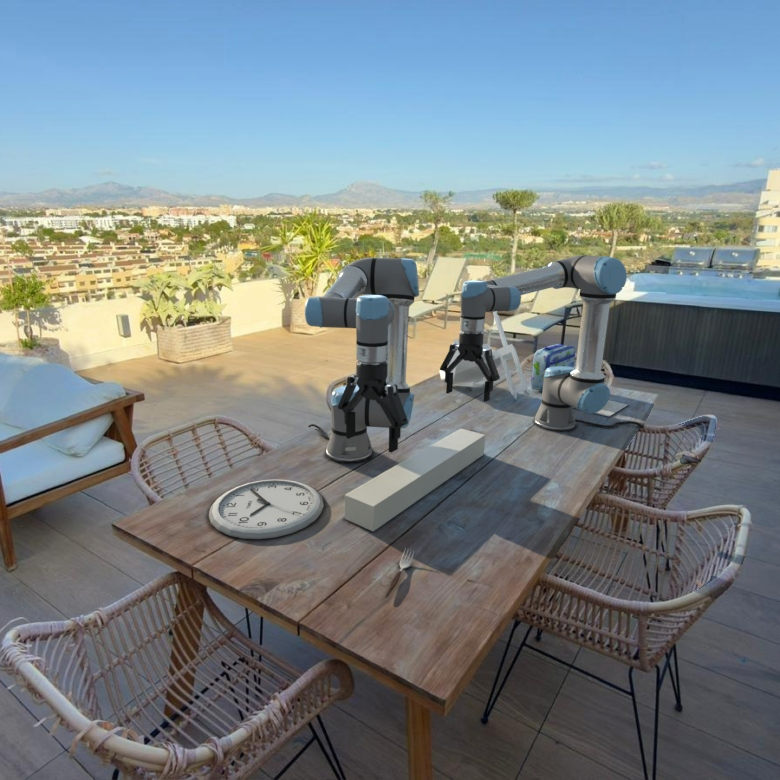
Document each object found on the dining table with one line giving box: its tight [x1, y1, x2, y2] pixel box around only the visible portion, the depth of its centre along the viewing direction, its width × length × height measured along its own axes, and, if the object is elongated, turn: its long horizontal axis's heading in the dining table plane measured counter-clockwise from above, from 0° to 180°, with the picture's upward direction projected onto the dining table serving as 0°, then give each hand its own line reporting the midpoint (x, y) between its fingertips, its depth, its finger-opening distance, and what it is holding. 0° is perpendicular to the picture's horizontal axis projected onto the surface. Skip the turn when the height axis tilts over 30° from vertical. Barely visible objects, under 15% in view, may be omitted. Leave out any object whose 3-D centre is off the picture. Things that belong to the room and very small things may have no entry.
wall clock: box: [208, 478, 324, 540], centre depth 141 cm, size 30×2×30 cm
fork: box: [385, 547, 415, 599], centre depth 114 cm, size 3×16×2 cm, turn 160°
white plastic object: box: [438, 311, 531, 400], centre depth 245 cm, size 37×45×31 cm
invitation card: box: [595, 399, 629, 418], centre depth 226 cm, size 21×1×15 cm
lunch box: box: [530, 343, 576, 392], centre depth 248 cm, size 26×11×21 cm, turn 134°
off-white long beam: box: [344, 428, 486, 532], centre depth 155 cm, size 60×10×7 cm, turn 143°
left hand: (371, 443), depth 131 cm, fingers open, 13 cm apart
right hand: (467, 396), depth 169 cm, fingers open, 13 cm apart
